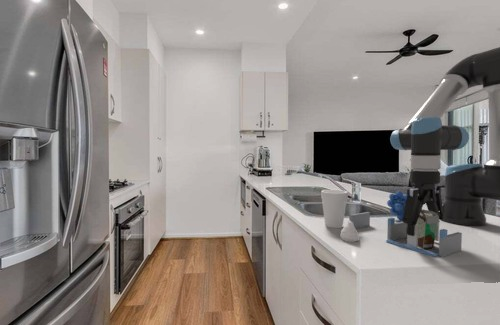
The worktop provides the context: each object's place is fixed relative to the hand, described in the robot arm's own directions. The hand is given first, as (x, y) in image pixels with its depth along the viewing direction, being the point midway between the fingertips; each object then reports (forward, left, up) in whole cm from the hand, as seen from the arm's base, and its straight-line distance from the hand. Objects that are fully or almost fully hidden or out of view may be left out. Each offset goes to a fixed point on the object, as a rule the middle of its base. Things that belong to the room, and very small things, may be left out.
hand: (423, 242), depth 83 cm
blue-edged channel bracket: (+1, -7, -1) cm, 8 cm away
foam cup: (+8, -28, -1) cm, 29 cm away
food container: (0, 0, -1) cm, 1 cm away
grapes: (-21, -20, -1) cm, 30 cm away
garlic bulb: (+16, -14, -1) cm, 21 cm away
